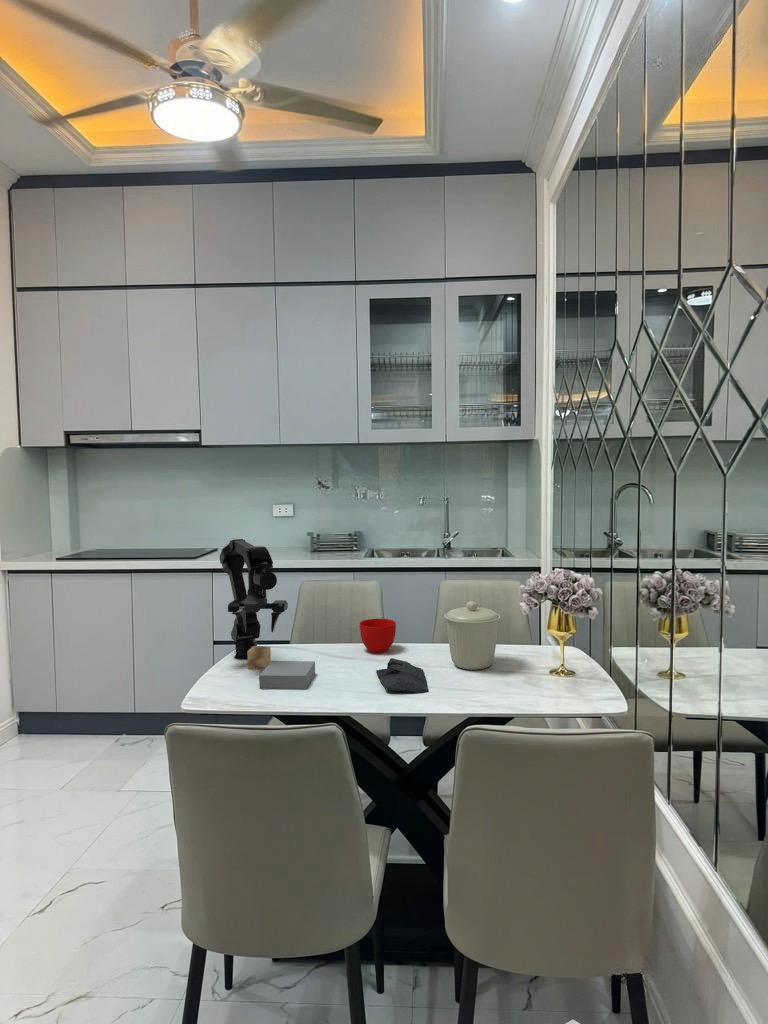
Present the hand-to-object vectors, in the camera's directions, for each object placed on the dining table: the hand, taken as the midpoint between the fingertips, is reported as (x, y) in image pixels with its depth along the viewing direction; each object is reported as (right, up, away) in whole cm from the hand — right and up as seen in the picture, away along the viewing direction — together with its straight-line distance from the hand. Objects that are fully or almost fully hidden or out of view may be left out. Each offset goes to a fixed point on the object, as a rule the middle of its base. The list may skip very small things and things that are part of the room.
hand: (258, 631), depth 206 cm
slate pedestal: (+12, -12, -14) cm, 22 cm away
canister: (+70, -11, -2) cm, 71 cm away
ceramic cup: (+39, -10, +18) cm, 44 cm away
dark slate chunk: (+47, -13, -16) cm, 51 cm away
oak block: (0, -12, +1) cm, 12 cm away
